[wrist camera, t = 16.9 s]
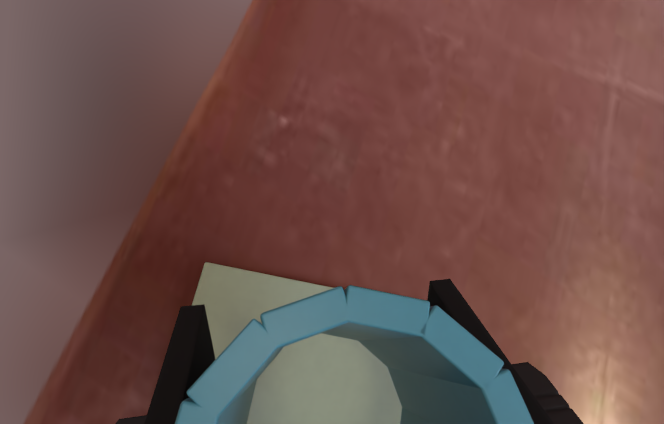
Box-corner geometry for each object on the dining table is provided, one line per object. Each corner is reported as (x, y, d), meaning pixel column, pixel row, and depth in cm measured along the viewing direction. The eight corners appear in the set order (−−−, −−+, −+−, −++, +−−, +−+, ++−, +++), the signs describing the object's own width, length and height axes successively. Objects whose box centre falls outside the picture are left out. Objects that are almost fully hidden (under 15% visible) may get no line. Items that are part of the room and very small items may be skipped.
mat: (137, 490, 19) (133, 495, 19) (206, 263, 24) (204, 261, 23) (440, 545, 20) (444, 551, 19) (456, 314, 24) (460, 313, 24)
